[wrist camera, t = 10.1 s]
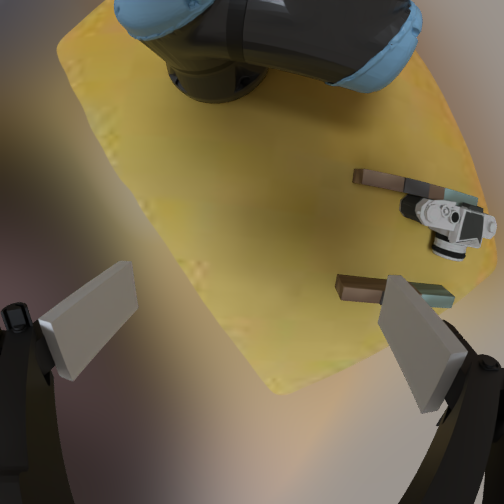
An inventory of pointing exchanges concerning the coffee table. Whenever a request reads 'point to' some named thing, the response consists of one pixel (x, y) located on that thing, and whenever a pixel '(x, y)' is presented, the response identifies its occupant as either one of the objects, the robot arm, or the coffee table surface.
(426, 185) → the rail
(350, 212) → the coffee table surface
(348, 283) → the rail
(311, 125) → the coffee table surface
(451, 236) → the camera
